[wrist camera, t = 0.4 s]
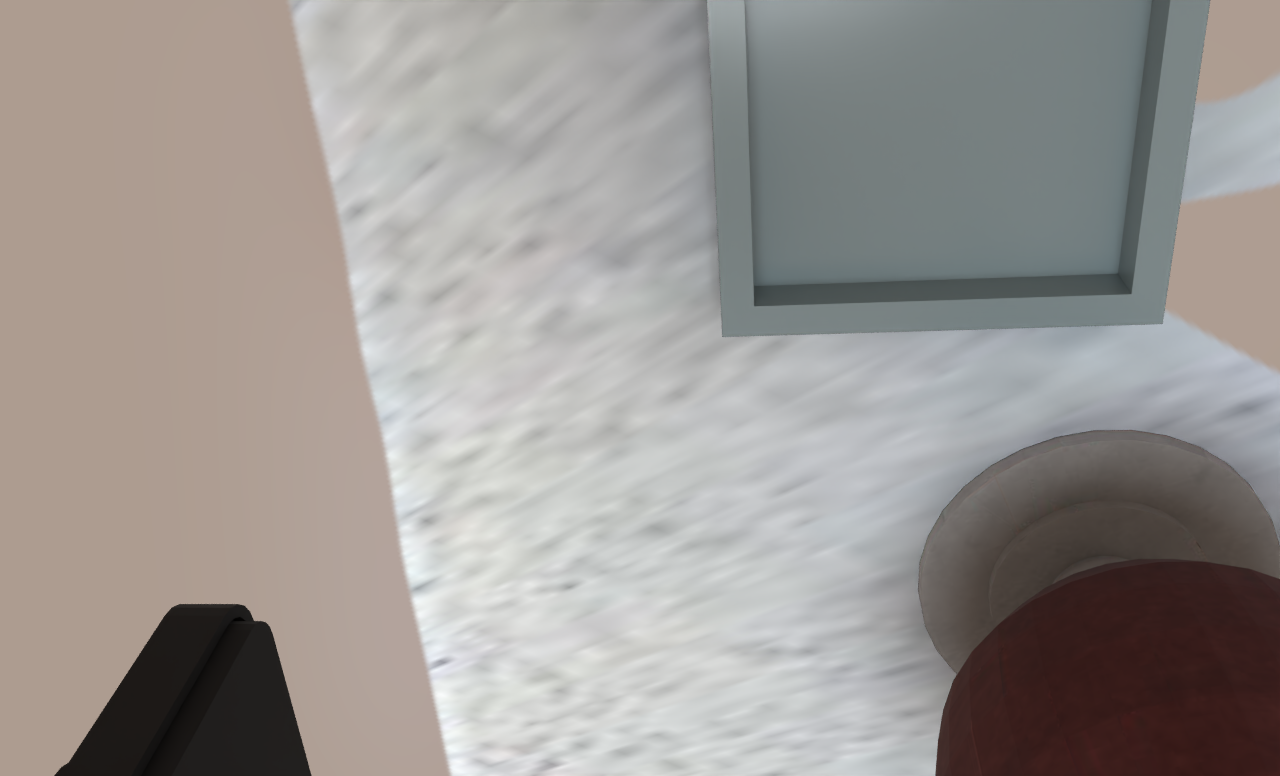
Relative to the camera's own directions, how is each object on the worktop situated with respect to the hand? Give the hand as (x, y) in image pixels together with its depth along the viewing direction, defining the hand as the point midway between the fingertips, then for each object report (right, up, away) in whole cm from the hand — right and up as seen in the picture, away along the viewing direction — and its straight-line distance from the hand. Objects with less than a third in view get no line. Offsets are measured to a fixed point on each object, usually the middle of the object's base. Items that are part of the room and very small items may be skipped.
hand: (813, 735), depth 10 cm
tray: (+7, +12, +25) cm, 29 cm away
